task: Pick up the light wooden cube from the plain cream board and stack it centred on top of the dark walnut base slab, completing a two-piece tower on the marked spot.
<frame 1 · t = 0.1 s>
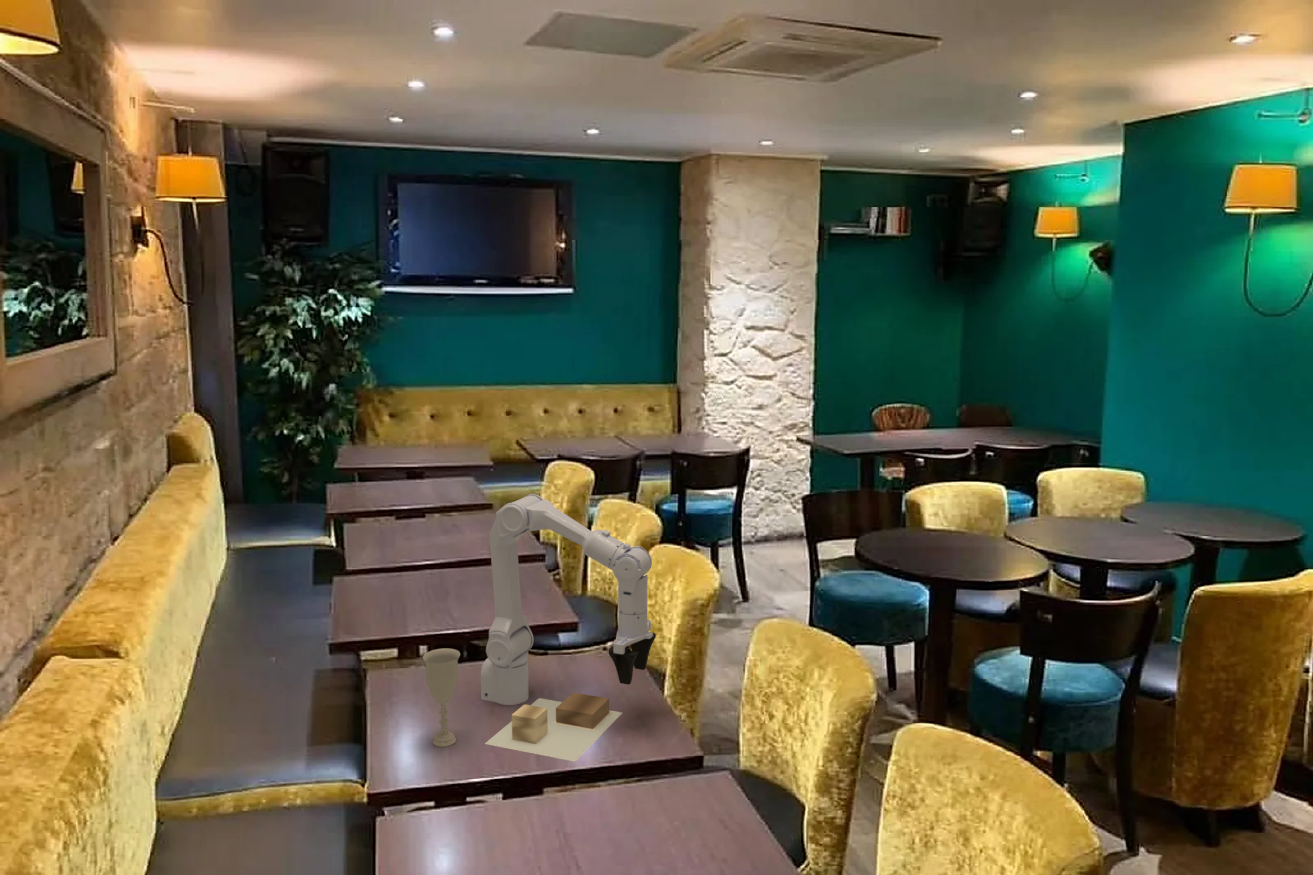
hand: (632, 675, 198), 10 cm above the table, tool pointing down, fingers open, 7 cm apart
chalice: (444, 746, 191), on the table
light wooden cube: (530, 736, 193), point 1 cm above the table, touching plain cream board
walnut slab: (582, 717, 201), point 1 cm above the table, touching plain cream board
plain cream board: (555, 731, 196), on the table
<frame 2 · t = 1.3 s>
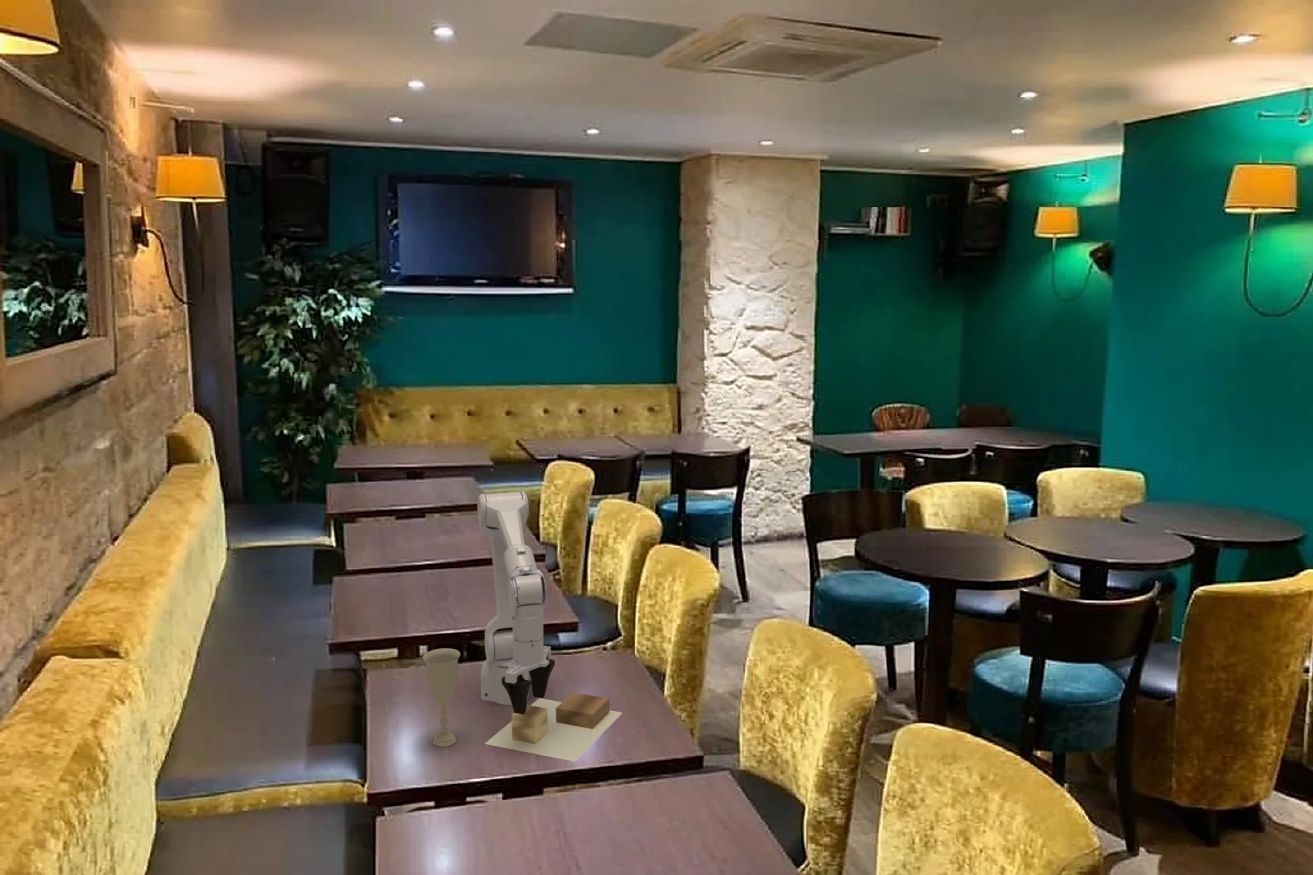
hand: (529, 704, 192), 7 cm above the table, tool pointing down, fingers open, 7 cm apart
nothing on the table moved.
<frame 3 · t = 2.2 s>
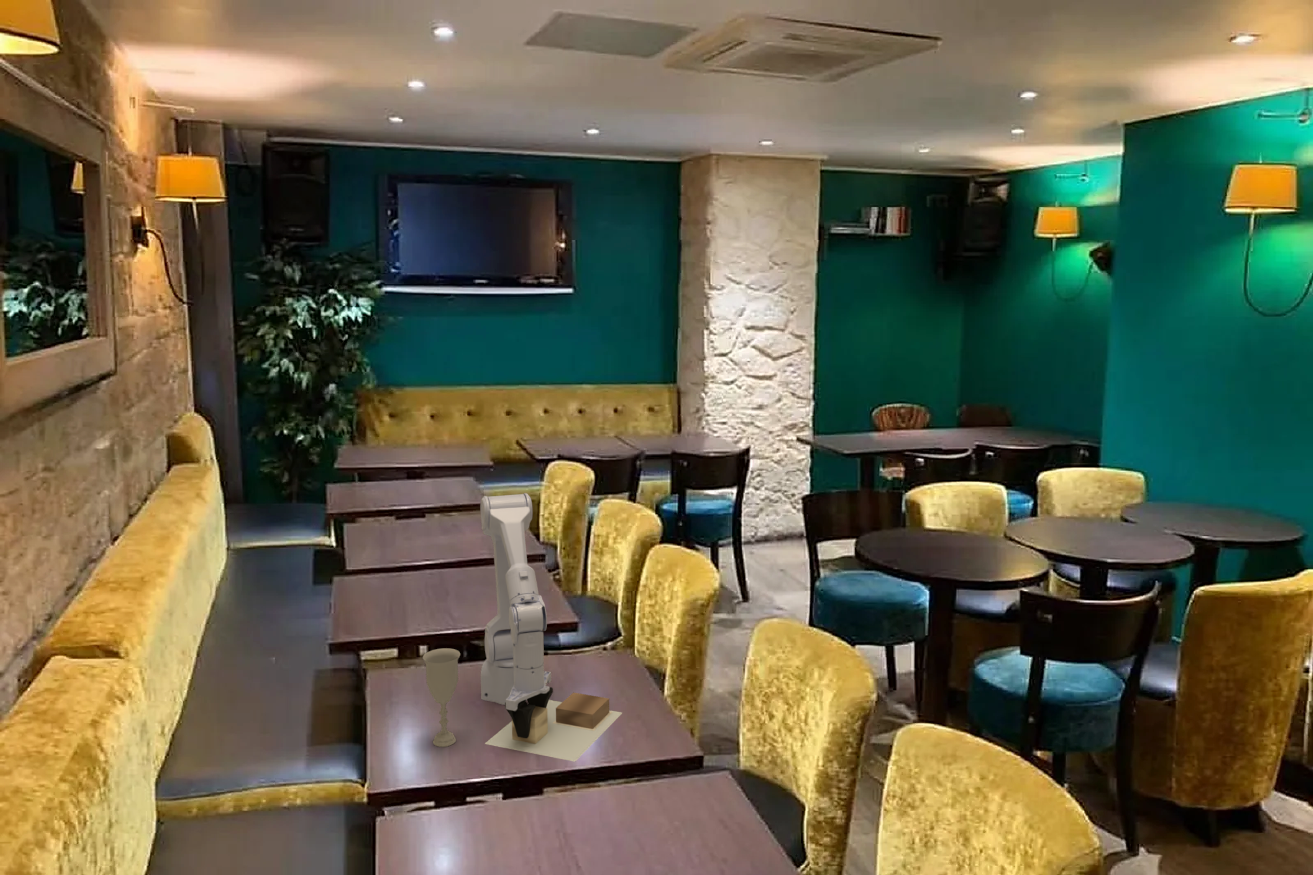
hand: (530, 730, 193), 2 cm above the table, tool pointing down, fingers closed on light wooden cube, 5 cm apart
light wooden cube: (530, 736, 193), point 1 cm above the table, touching plain cream board, gripper
everything else where it was.
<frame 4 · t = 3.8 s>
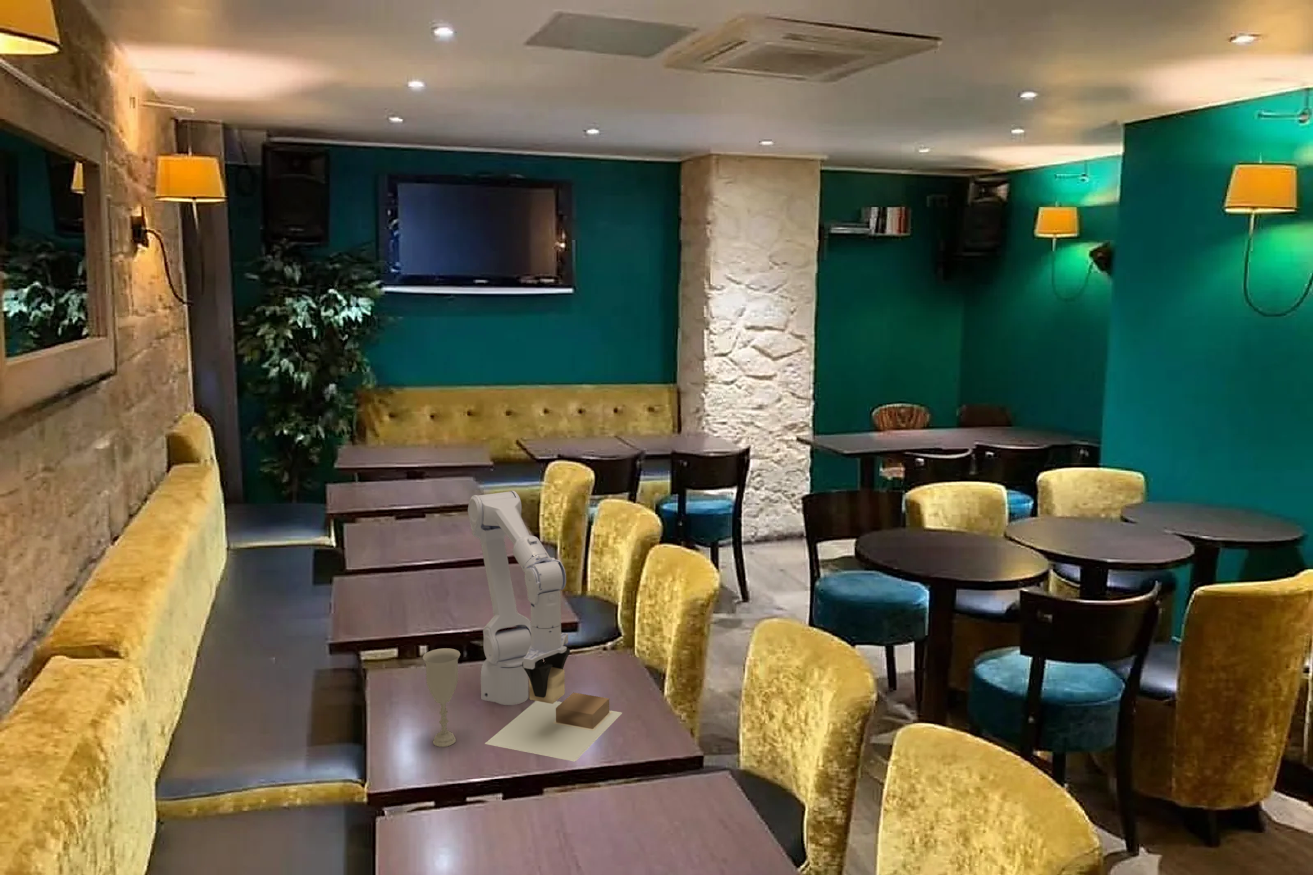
hand: (547, 690, 194), 9 cm above the table, tool pointing down, fingers closed on light wooden cube, 5 cm apart
light wooden cube: (547, 696, 194), point 8 cm above the table, touching gripper
everything else where it was.
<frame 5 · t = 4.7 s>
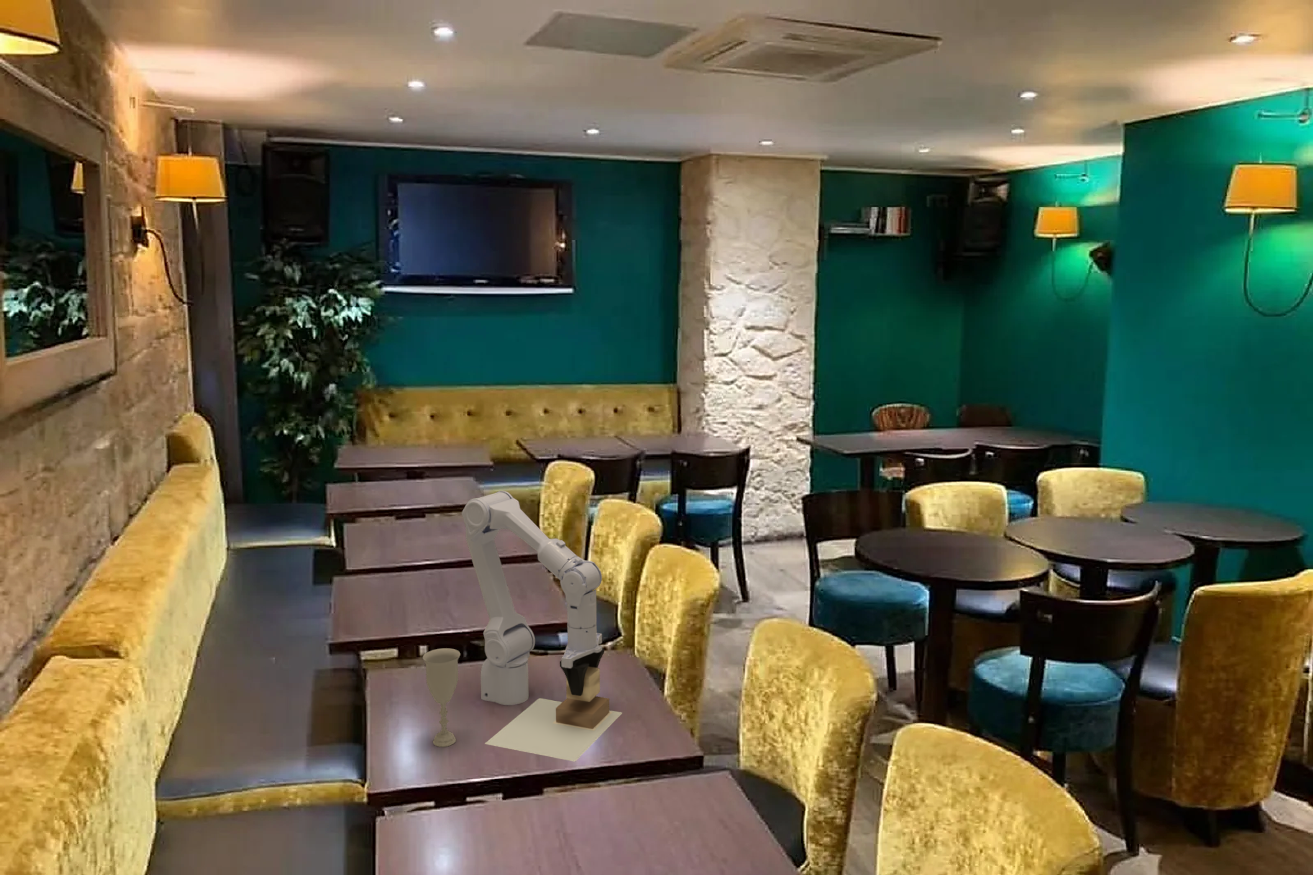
hand: (582, 689, 200), 7 cm above the table, tool pointing down, fingers closed on light wooden cube, 5 cm apart
light wooden cube: (583, 695, 200), point 6 cm above the table, touching gripper
everything else where it was.
when the fingers open (6 cm above the table, at t = 5.4 s): light wooden cube stays where it is, resting on walnut slab.
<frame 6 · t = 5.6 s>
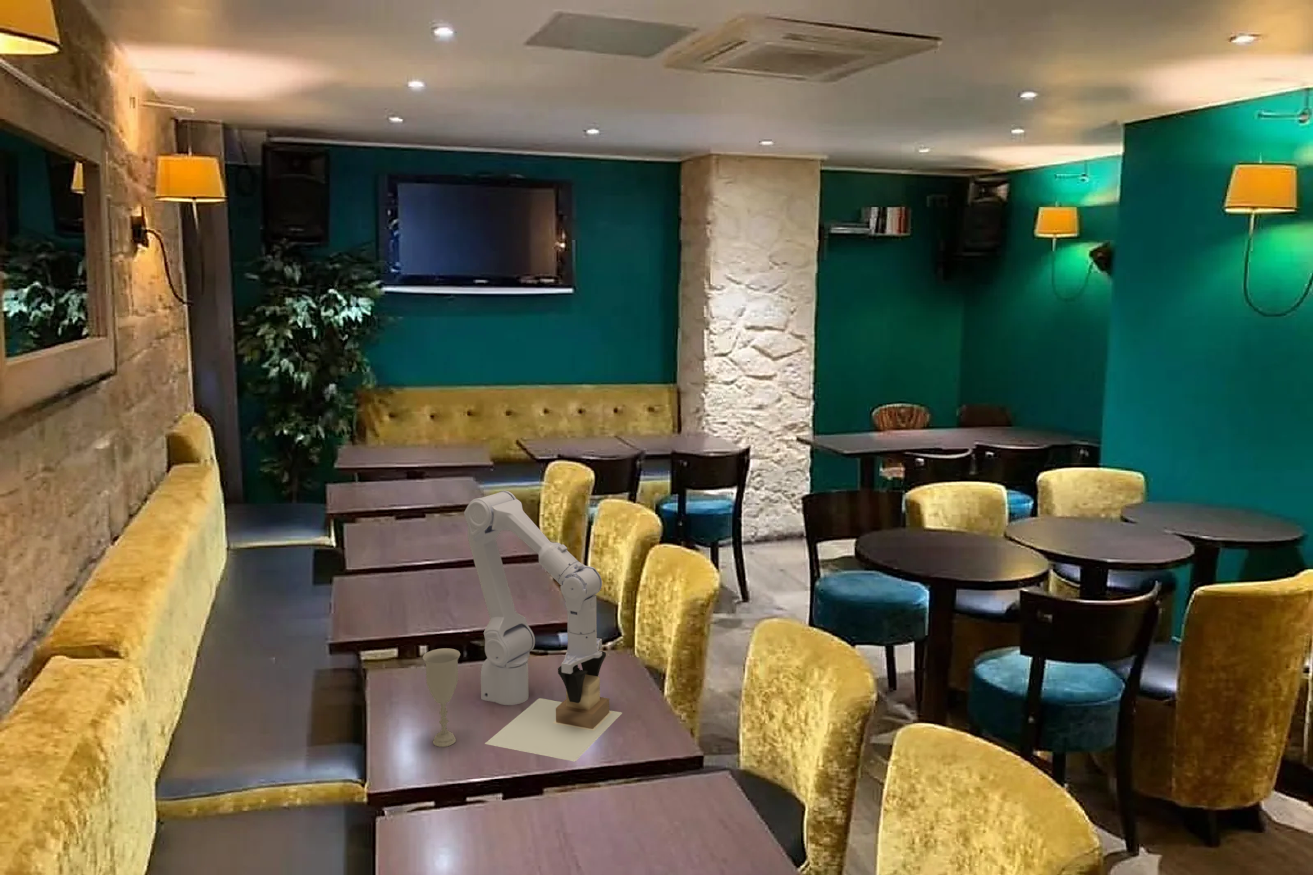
hand: (582, 694, 200), 6 cm above the table, tool pointing down, fingers open, 7 cm apart
light wooden cube: (583, 703, 200), point 4 cm above the table, touching walnut slab
walnut slab: (582, 717, 201), point 1 cm above the table, touching plain cream board, light wooden cube
everything else where it was.
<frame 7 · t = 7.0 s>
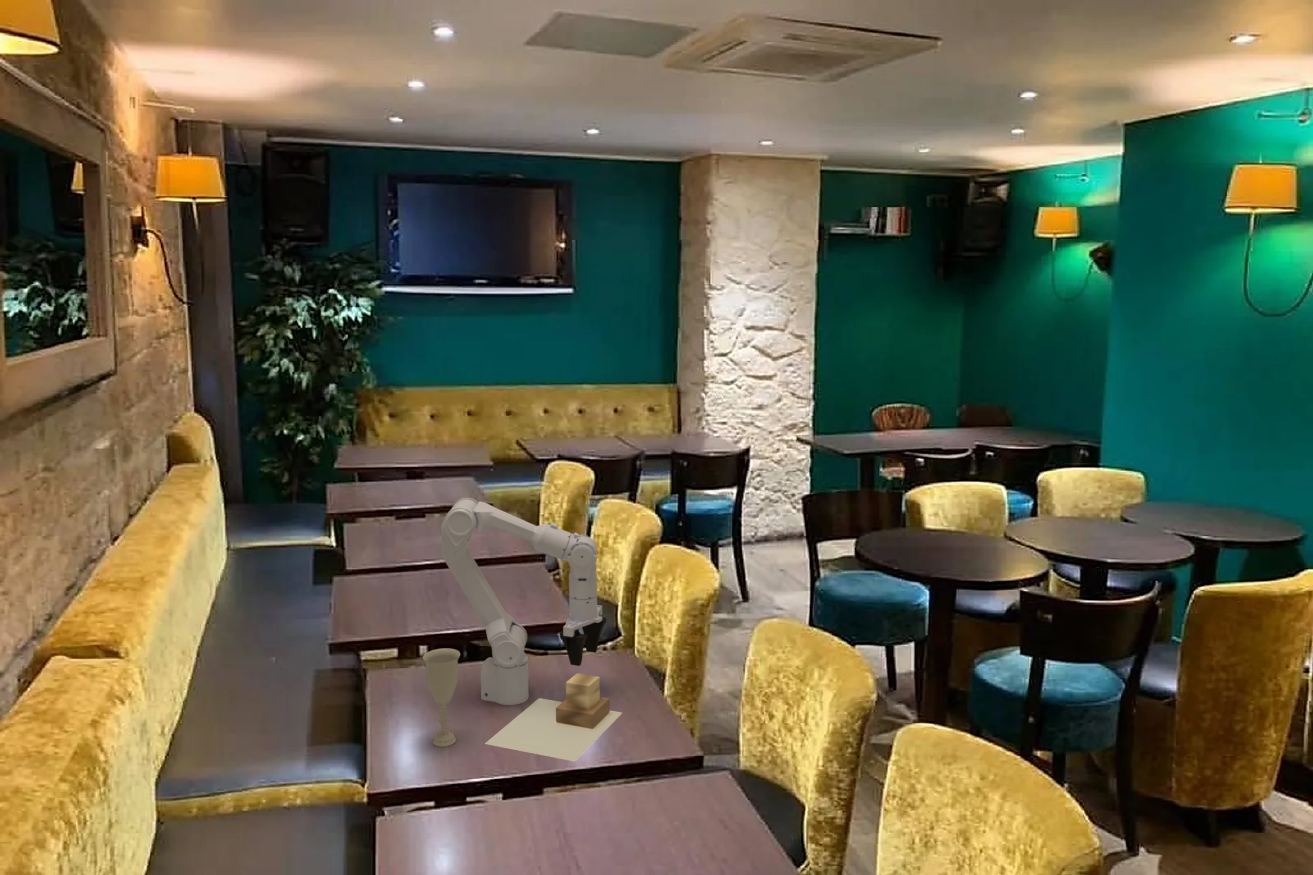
hand: (583, 658, 209), 9 cm above the table, tool pointing down, fingers open, 7 cm apart
nothing on the table moved.
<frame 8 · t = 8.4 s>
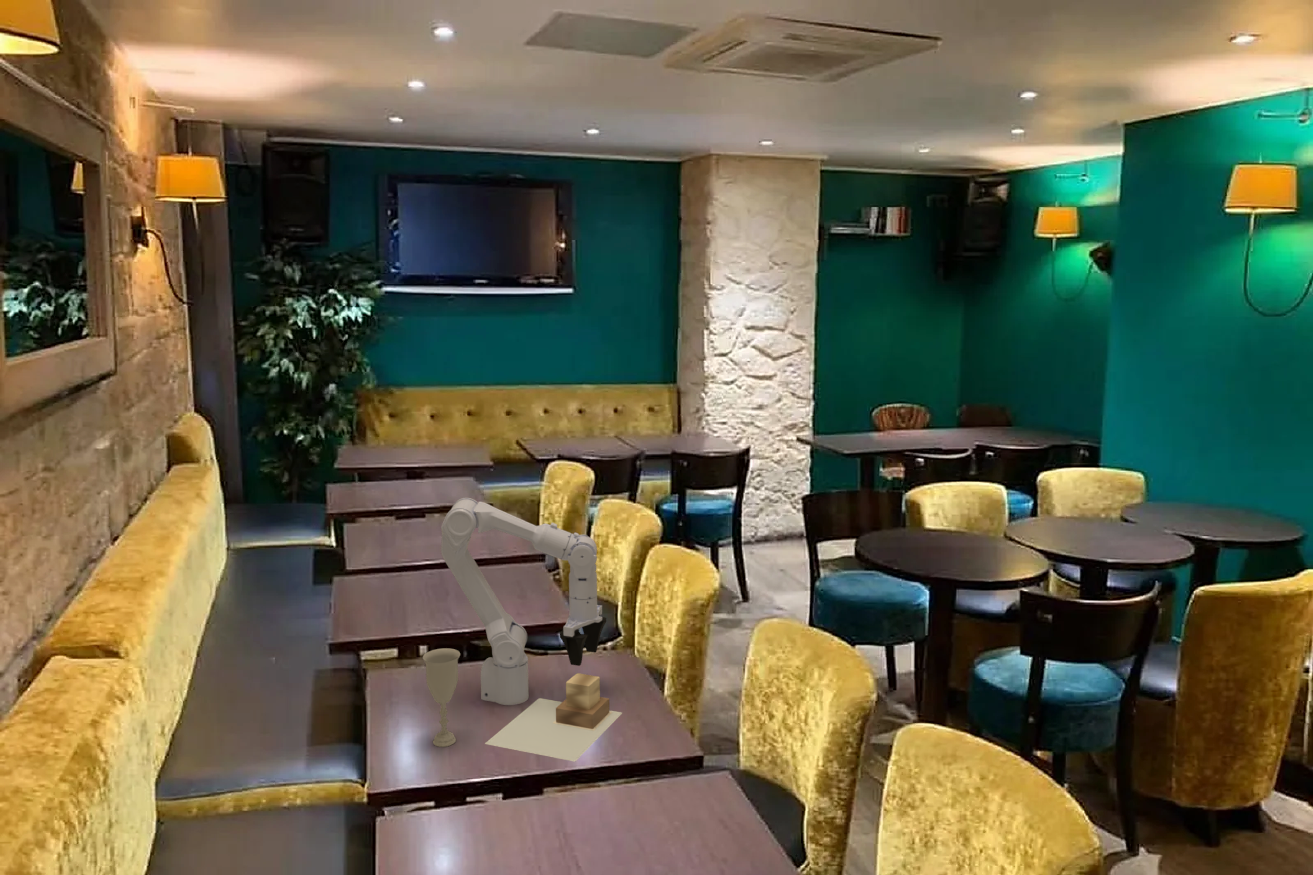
hand: (583, 658, 209), 9 cm above the table, tool pointing down, fingers open, 7 cm apart
nothing on the table moved.
at the end: light wooden cube 0.1 cm off-centre on the walnut slab, point 3.0 cm above the walnut slab's base; light wooden cube tilted 0°; walnut slab moved 0.0 cm from its start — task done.
